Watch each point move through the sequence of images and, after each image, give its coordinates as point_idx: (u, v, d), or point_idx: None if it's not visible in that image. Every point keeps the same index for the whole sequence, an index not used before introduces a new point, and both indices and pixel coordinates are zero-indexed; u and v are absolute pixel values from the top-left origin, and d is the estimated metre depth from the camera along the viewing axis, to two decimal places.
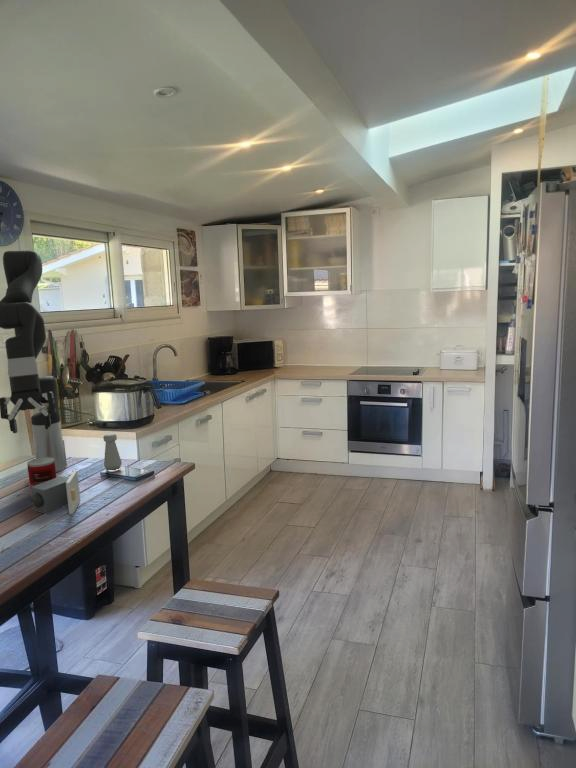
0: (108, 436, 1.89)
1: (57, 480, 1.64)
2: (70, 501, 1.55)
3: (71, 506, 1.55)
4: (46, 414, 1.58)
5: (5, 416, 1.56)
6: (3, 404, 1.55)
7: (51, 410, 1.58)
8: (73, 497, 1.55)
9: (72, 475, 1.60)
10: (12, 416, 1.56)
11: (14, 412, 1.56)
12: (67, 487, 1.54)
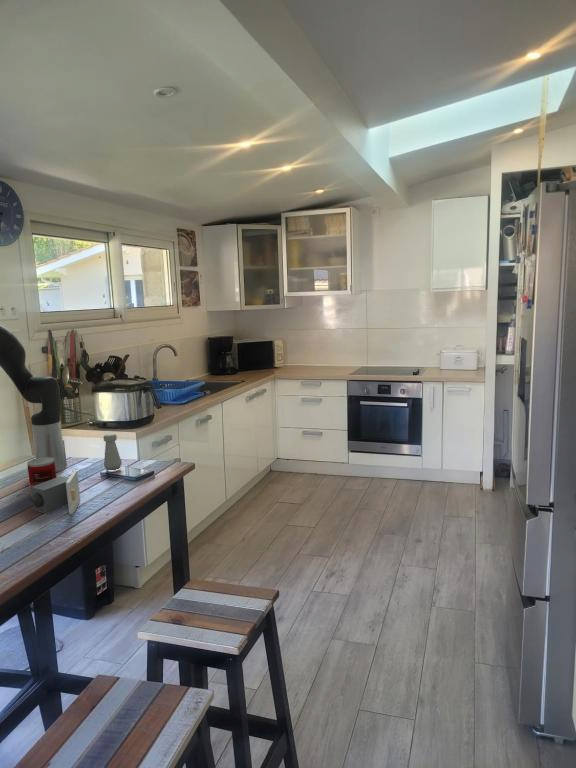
0: (108, 436, 1.89)
1: (57, 480, 1.64)
2: (70, 501, 1.55)
3: (71, 506, 1.55)
4: None
5: None
6: None
7: None
8: (73, 497, 1.55)
9: (72, 475, 1.60)
10: None
11: None
12: (67, 487, 1.54)
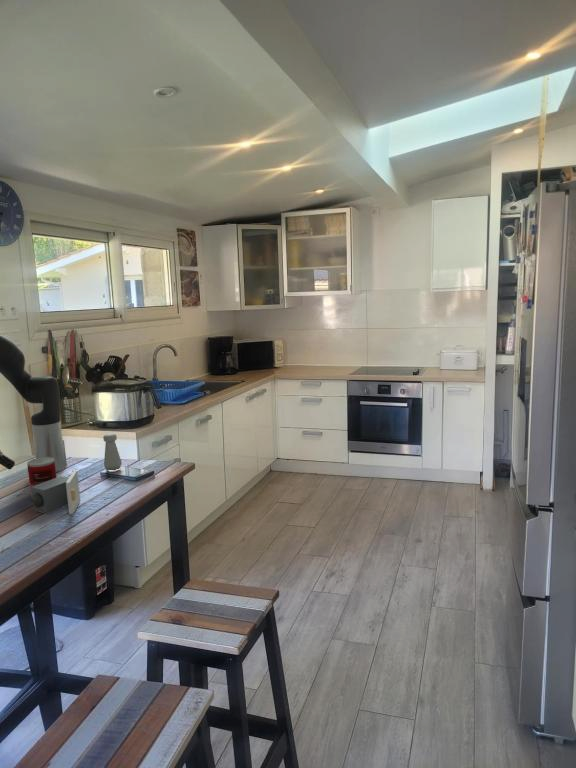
0: (108, 436, 1.89)
1: (57, 480, 1.64)
2: (70, 501, 1.55)
3: (71, 506, 1.55)
4: None
5: None
6: None
7: None
8: (73, 497, 1.55)
9: (72, 475, 1.60)
10: None
11: None
12: (67, 487, 1.54)
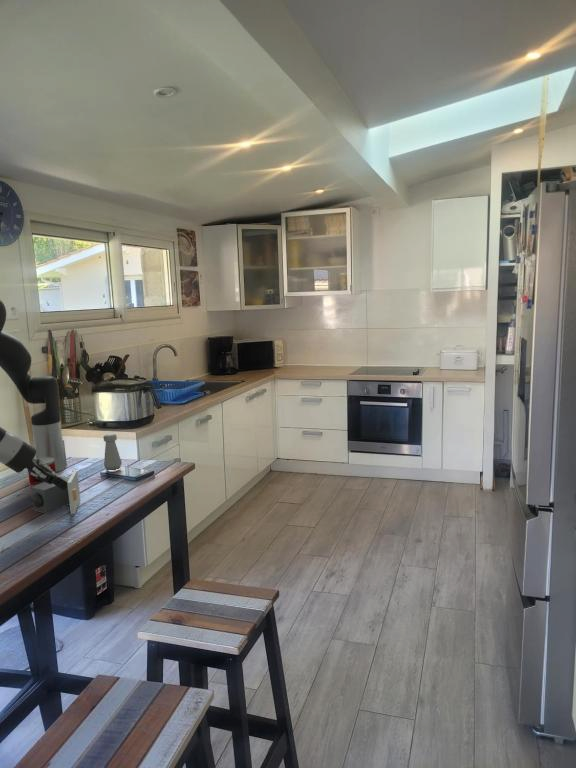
0: (108, 436, 1.89)
1: None
2: (71, 501, 1.55)
3: (72, 506, 1.55)
4: None
5: None
6: None
7: None
8: (74, 497, 1.55)
9: (73, 475, 1.60)
10: None
11: None
12: (68, 487, 1.54)
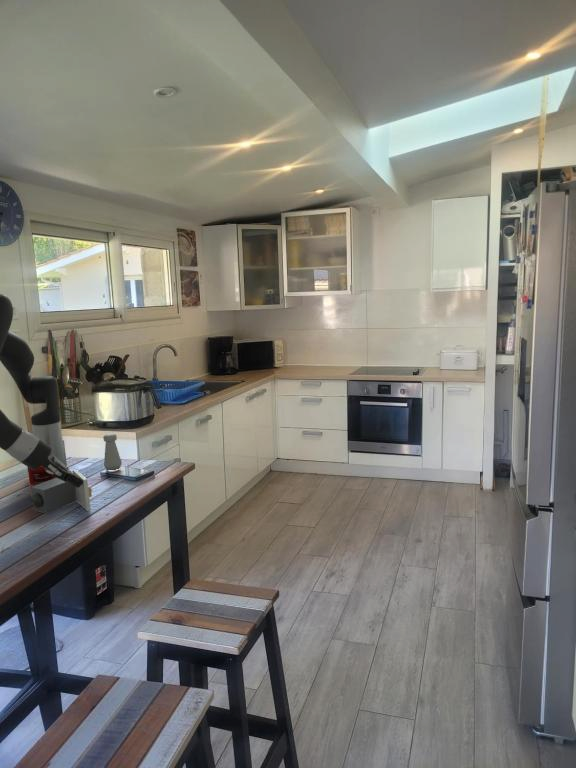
0: (108, 436, 1.89)
1: (57, 480, 1.64)
2: (88, 498, 1.57)
3: (88, 503, 1.57)
4: None
5: None
6: None
7: None
8: (90, 493, 1.57)
9: (79, 474, 1.61)
10: None
11: None
12: (85, 484, 1.56)
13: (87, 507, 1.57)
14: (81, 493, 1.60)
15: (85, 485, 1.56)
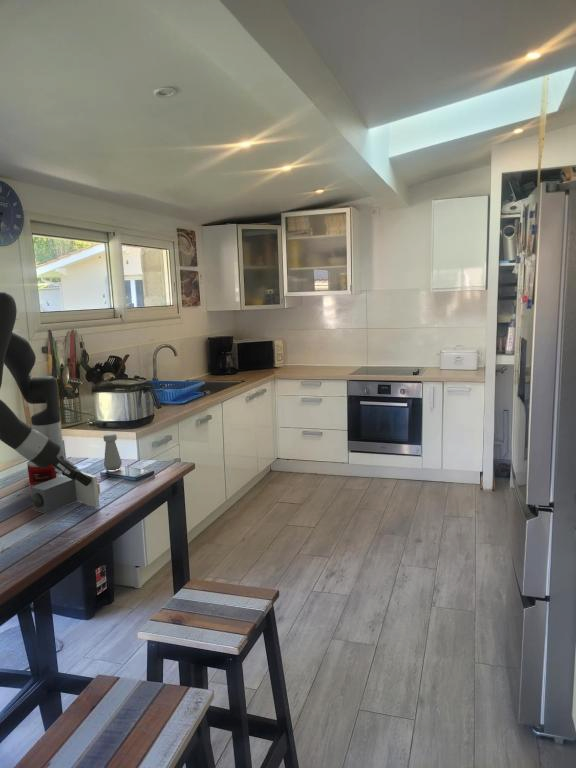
0: (108, 436, 1.89)
1: (57, 480, 1.64)
2: (97, 495, 1.59)
3: (98, 499, 1.59)
4: None
5: None
6: None
7: None
8: (99, 490, 1.60)
9: (83, 473, 1.62)
10: None
11: None
12: (94, 481, 1.58)
13: (96, 504, 1.59)
14: (87, 491, 1.61)
15: (94, 482, 1.58)
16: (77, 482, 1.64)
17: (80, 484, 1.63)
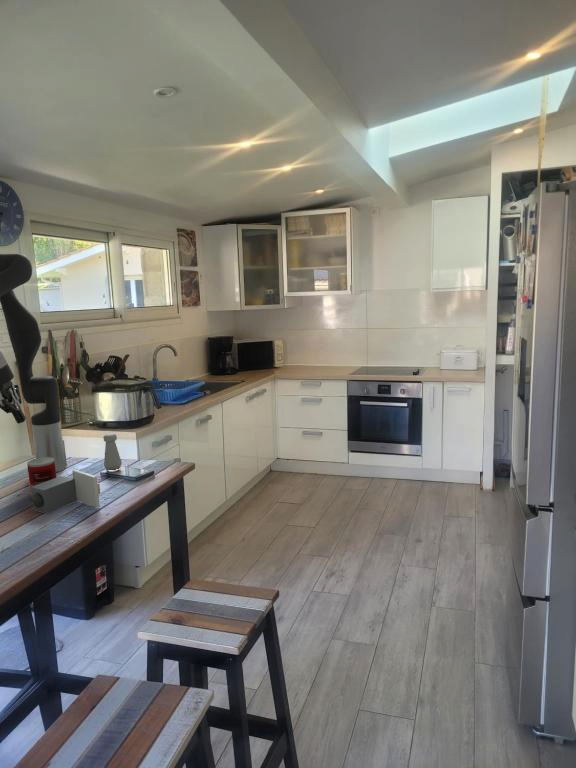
0: (108, 436, 1.89)
1: (57, 480, 1.64)
2: (97, 495, 1.59)
3: (98, 499, 1.59)
4: None
5: None
6: None
7: None
8: (99, 490, 1.60)
9: (83, 472, 1.62)
10: None
11: None
12: (94, 481, 1.58)
13: (97, 504, 1.59)
14: (87, 491, 1.61)
15: (95, 482, 1.58)
16: (77, 482, 1.64)
17: (80, 484, 1.63)
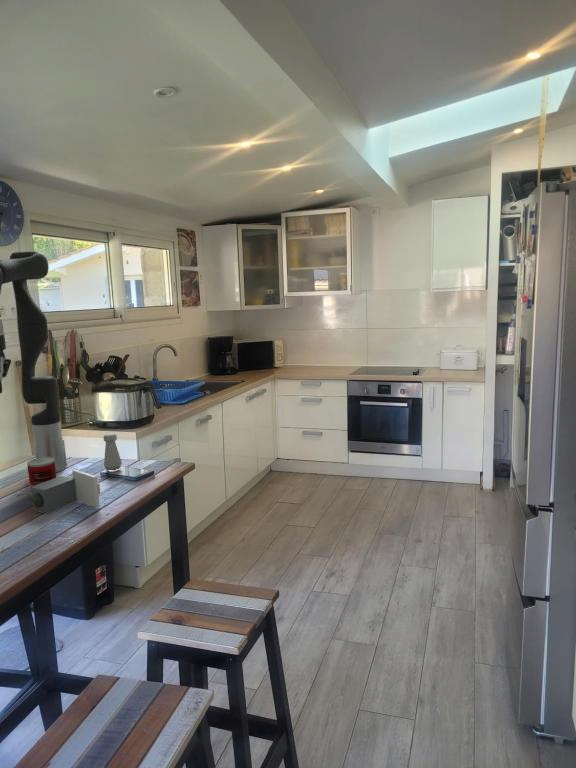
0: (108, 436, 1.89)
1: (57, 480, 1.64)
2: (97, 495, 1.59)
3: (98, 499, 1.59)
4: None
5: None
6: None
7: None
8: (99, 490, 1.60)
9: (83, 472, 1.62)
10: None
11: None
12: (94, 481, 1.58)
13: (97, 504, 1.59)
14: (87, 491, 1.61)
15: (95, 482, 1.58)
16: (77, 482, 1.64)
17: (80, 484, 1.63)
